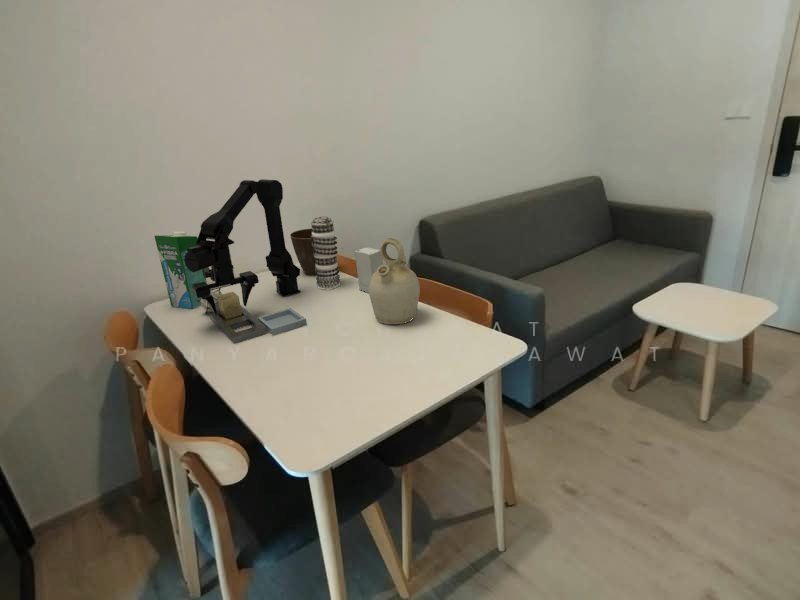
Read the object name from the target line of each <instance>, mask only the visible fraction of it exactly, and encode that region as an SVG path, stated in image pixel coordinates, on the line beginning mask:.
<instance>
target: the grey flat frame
mask: <svg viewBox="0 0 800 600" xmlns="http://www.w3.org/2000/svg"><path fill="white" fill-rule="evenodd" d="M240 306H241V312H242V316H241V317H238V318H234V319H231V320H227V321H224V320H223V319H222V318H221V313H220V311H217V314H215V313H214V312H209V318H210V320H211V321H212V322H213V324H214V325H215V326H216V327H218V329H219V330H221V332H222V333H223V334H224V335H225V336H226V337H227V338H228V339H229V340H230V341H231V342H232V344H234V343H235V344H237V343H241V342H244V341H247V339H248V340H250V339H254V338H256V337H259V336H264V335H266V333H267V334H268V333H269V332H268V331H267V327H266V326H265V325H264V324H262V323H261V322H260V321H259V320H258V318H257V317H256V316H254V315H253V314H252V313H251V312H249V311H248V310H247V309H246V308H245V307H243V306H242V305H241V304H240ZM247 325H248V326H251V327H248V328H246V329H242V330H238V329H241V328H244V327H243V326H245V327H247ZM240 327H241V328H240ZM237 328H238V329H237ZM234 329H235V330H238V331H235V330H234ZM263 334H264V335H263Z"/></svg>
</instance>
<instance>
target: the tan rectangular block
mask: <svg viewBox="0 0 800 600" xmlns="http://www.w3.org/2000/svg"><path fill="white" fill-rule="evenodd" d="M217 298H218V303H219V308H220V313H221V318H222V319H223V320H224V321H227V320H231V319H234V318H238V317H241V316H242V312H241V306H242V305H241V302H240V296H239V295H238V294H237V293H236V292H235V291H231V292H226V293H222V295H218V296H217ZM240 305H241V306H240Z"/></svg>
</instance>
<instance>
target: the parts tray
mask: <svg viewBox="0 0 800 600" xmlns="http://www.w3.org/2000/svg"><path fill="white" fill-rule="evenodd" d="M257 319H258V320H259V321H260V322H261V323H262V324H264V325H265V326H266V327H267V332H268V333H269V334H270V335H271V334H272V335H271V336H276V335H279V334H282V333H285V332H288V331H292V330H295V329H298V328H301V327H304V326H307V325H308V323H307V318H306V317H304V316H303V315H301V314H300V313H299V312H297V311H296V310H294V309H293V308H291V307H290V308H289V307H288V308H286V309H282V310H278V311H276V312H272V313H269V314H268V313H267V314H265V315H262V316H258V317H257Z"/></svg>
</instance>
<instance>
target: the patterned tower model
mask: <svg viewBox="0 0 800 600" xmlns="http://www.w3.org/2000/svg"><path fill="white" fill-rule="evenodd" d="M334 223H335V222H334V220H332V218H331V217H329V216H317V217H314V218H313V220H312V221H311V222H310V225H311V229H312V234H311V235H310V237H312V238H311V241H312V242H313V243H312V247H313V248H312V251H314V253H313V254H314V257H315V260H316V264H315V265H316V268H315V271H316V275H315V279H316V285H317V288H318V289H319V288H320V289H319V290H322V289H330V290H333V289H332V288H335V289H337V288H339V287H340V286H341V279H340V278H341V277H340V276H341V275H340V270H339V269H340V266H338V265H339V264H338V261H337V255H338V253H339V252H338V250H337V249H338V247H337V246H336V245H337V244H338V241H336V240H337V239H338V237H337V236H335V229H334ZM313 239H314V240H313ZM314 249H315V250H314ZM339 285H340V286H339ZM338 286H339V287H338ZM336 287H337V288H336Z"/></svg>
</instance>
